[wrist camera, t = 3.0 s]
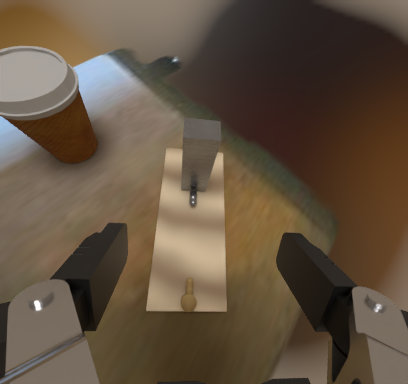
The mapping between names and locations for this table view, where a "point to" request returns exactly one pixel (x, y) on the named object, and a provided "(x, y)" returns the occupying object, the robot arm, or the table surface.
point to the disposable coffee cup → (45, 102)
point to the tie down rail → (189, 244)
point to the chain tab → (199, 154)
